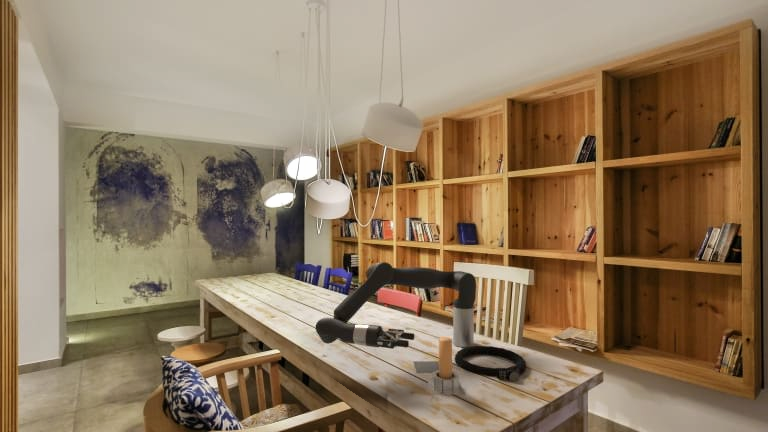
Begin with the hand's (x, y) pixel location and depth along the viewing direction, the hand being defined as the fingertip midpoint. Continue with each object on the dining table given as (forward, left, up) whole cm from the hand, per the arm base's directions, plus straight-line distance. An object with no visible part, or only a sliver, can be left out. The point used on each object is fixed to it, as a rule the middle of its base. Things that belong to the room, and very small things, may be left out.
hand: (411, 340), depth 131 cm
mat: (-13, +8, -15) cm, 21 cm away
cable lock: (-16, +33, -16) cm, 40 cm away
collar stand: (+4, +11, -15) cm, 19 cm away
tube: (+4, +11, -14) cm, 19 cm away
